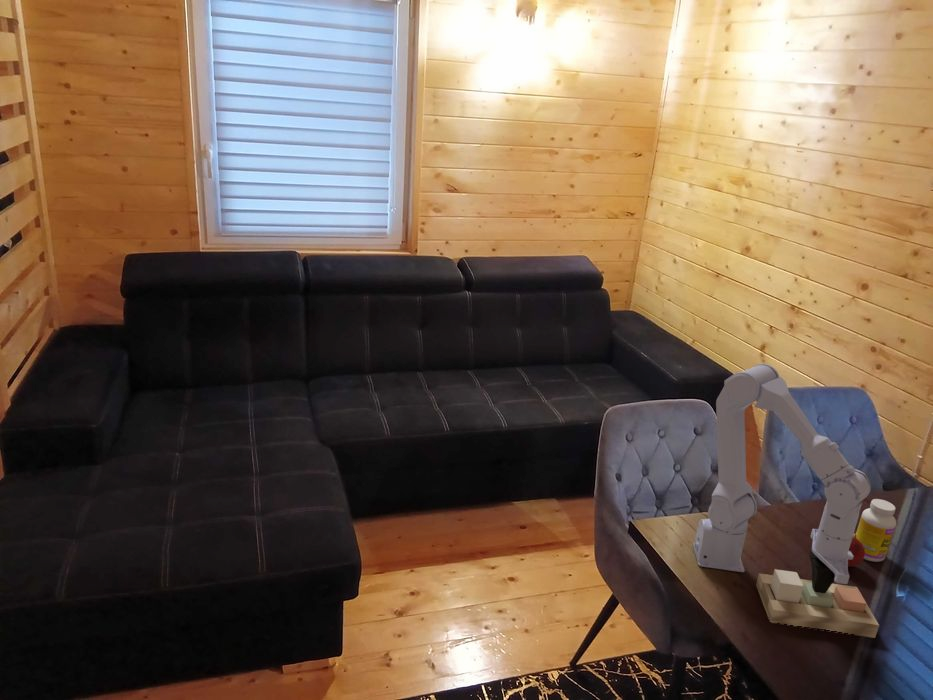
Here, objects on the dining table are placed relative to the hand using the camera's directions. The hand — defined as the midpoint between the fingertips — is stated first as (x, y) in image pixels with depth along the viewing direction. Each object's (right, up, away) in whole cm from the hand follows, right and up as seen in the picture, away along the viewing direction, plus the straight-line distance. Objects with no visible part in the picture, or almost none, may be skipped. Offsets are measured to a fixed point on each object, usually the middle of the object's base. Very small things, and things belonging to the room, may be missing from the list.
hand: (818, 590), depth 135 cm
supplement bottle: (+22, +1, +21) cm, 30 cm away
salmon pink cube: (+6, -4, +1) cm, 7 cm away
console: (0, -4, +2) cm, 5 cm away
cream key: (-6, -1, +1) cm, 6 cm away
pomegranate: (+14, 0, +16) cm, 21 cm away
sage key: (0, -4, +1) cm, 4 cm away
